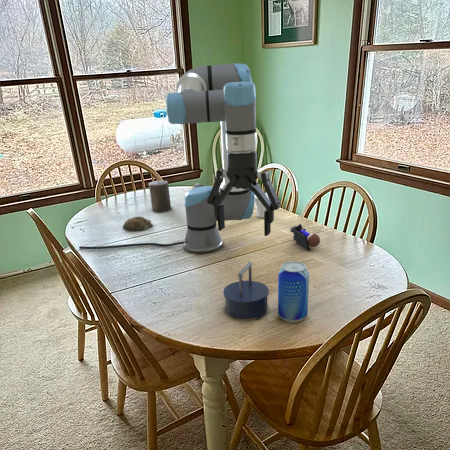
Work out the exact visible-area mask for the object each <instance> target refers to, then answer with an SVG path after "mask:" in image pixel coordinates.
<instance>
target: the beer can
mask: <svg viewBox="0 0 450 450" xmlns="http://www.w3.org/2000/svg"><path fill="white" fill-rule="evenodd" d="M277 274H278V275H277V314H278V316H279V317H280V319H281V320H282V321H284V322H286V323H292V324H295V323H300V322H302V321H303V320H304V319H305V318H306V317H307V316H308V311H309V306H308V305H309V290H310V289H309V288H310V287H309V285H310V272H309V269H307V265H306V264H305V263H304V262H301V261H295V260H289V261H286V262H284V263H282V265H281V268H280V269H279V271H278V273H277Z"/></svg>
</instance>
